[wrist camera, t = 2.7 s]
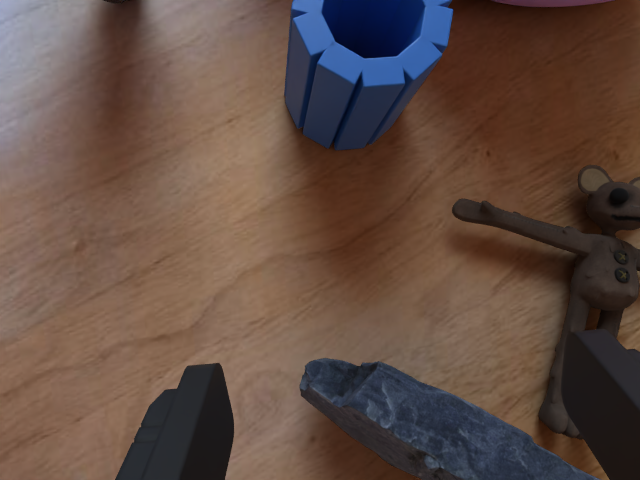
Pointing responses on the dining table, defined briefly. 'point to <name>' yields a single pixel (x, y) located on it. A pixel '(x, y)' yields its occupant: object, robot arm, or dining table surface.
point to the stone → (426, 426)
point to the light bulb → (115, 1)
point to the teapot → (550, 2)
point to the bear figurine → (581, 266)
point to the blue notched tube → (359, 64)
